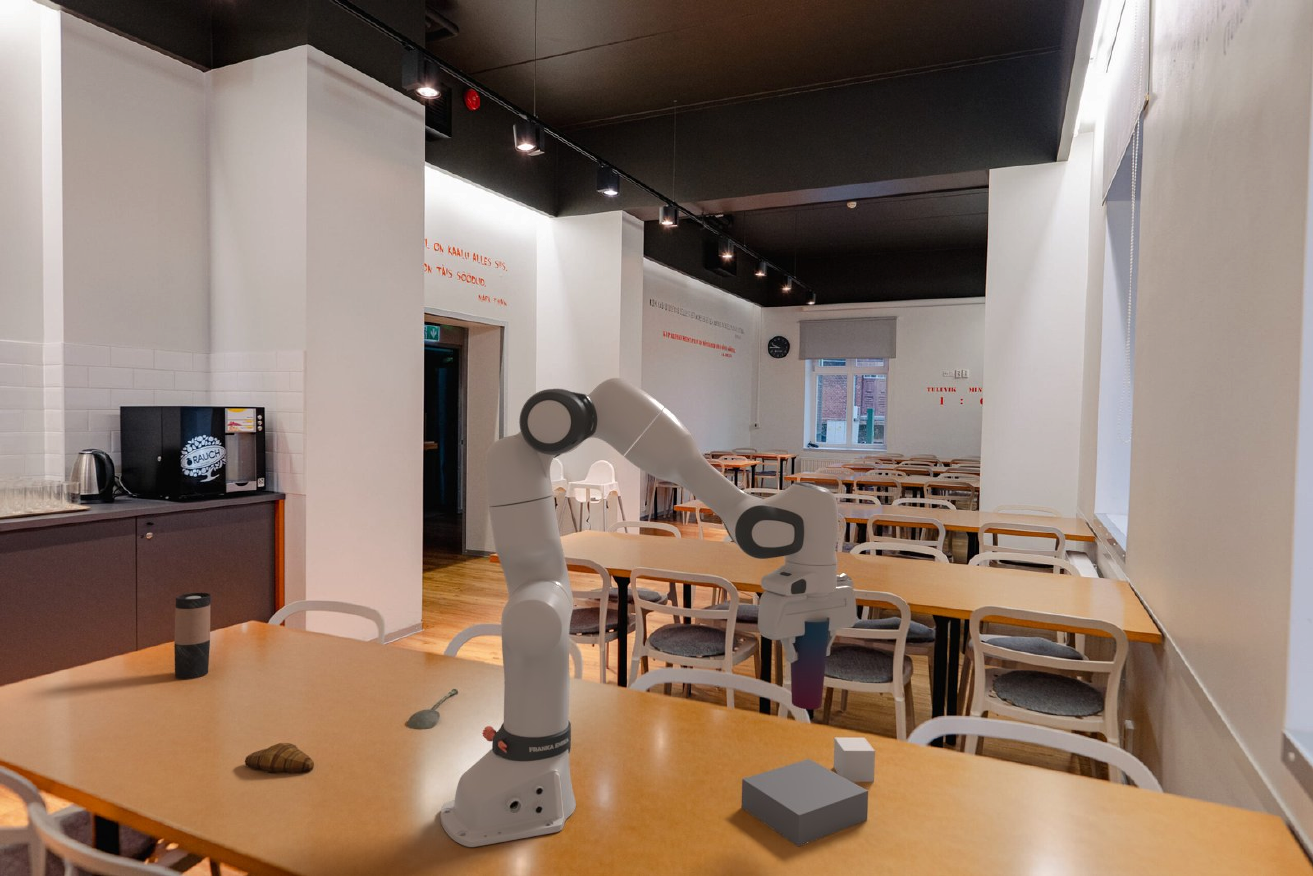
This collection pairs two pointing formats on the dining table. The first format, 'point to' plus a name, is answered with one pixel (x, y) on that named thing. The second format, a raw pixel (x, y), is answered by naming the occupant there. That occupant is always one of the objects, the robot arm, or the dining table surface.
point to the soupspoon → (427, 715)
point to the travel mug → (192, 635)
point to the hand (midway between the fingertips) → (807, 658)
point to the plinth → (804, 801)
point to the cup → (810, 665)
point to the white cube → (854, 759)
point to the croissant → (280, 759)
